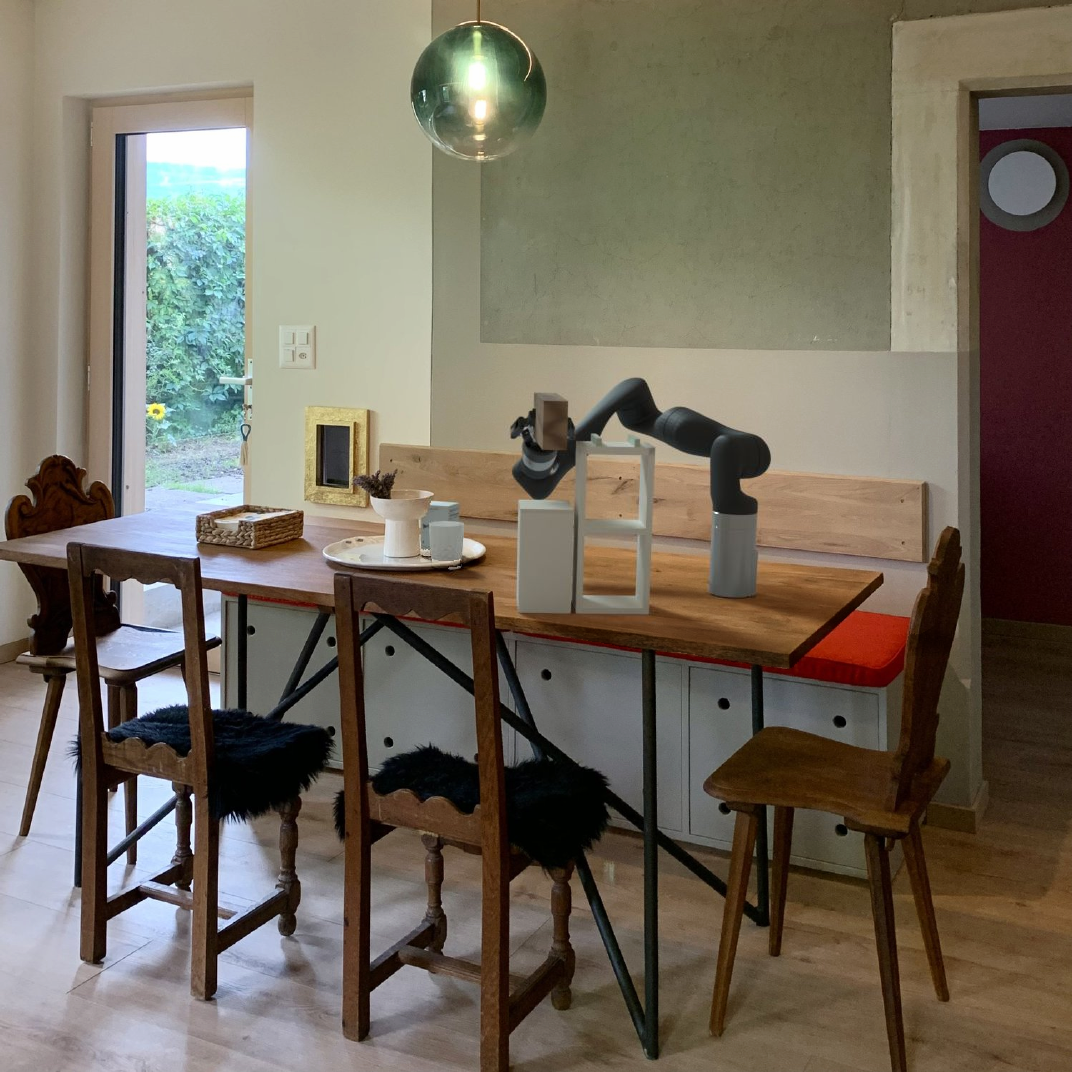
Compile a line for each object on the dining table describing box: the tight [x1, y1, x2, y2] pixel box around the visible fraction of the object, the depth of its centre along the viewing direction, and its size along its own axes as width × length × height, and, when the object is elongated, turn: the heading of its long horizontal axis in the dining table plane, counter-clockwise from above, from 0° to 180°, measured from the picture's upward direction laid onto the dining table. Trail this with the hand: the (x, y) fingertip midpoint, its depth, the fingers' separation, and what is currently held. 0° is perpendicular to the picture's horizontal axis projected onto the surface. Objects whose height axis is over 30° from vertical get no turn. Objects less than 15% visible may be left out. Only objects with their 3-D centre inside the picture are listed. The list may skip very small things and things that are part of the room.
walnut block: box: [533, 392, 569, 450], centre depth 231 cm, size 4×24×9 cm, turn 5°
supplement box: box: [420, 500, 461, 550], centre depth 285 cm, size 7×7×13 cm
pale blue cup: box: [429, 521, 465, 571], centre depth 270 cm, size 8×8×10 cm
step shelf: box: [516, 433, 656, 615], centre depth 232 cm, size 25×13×34 cm, turn 93°
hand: (546, 412), depth 237 cm, fingers closed on walnut block, 4 cm apart
